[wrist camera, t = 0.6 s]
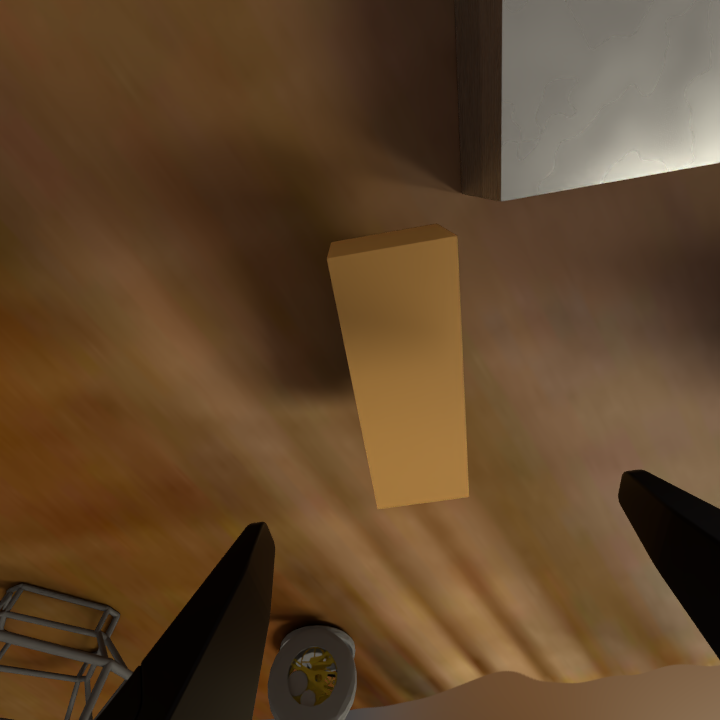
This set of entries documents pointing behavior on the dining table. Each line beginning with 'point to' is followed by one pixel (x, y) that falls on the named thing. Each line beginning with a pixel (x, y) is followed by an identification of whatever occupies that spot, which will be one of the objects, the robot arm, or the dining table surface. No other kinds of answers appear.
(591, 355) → the dining table surface
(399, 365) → the wedge pin
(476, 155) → the rosette plate
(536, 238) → the dining table surface
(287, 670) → the pocket watch
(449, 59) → the dining table surface
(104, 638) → the geometric lantern
